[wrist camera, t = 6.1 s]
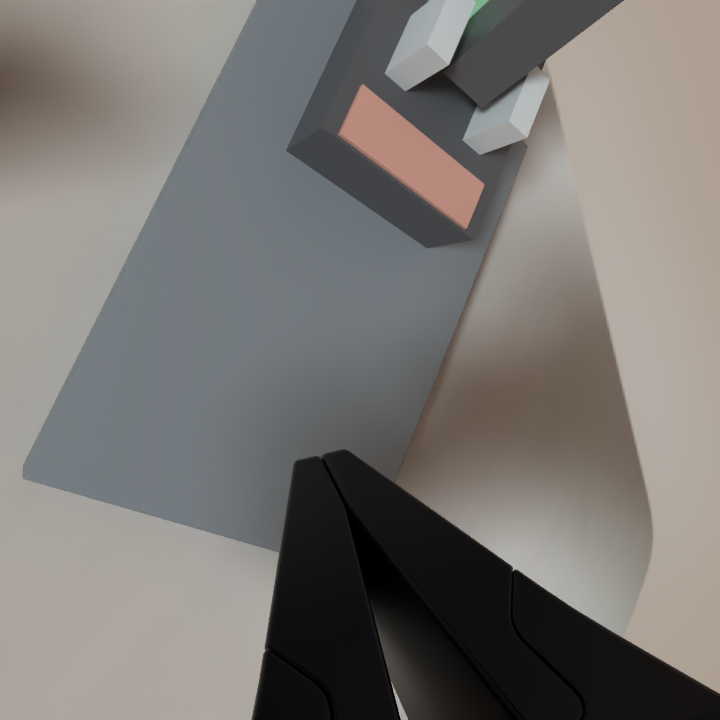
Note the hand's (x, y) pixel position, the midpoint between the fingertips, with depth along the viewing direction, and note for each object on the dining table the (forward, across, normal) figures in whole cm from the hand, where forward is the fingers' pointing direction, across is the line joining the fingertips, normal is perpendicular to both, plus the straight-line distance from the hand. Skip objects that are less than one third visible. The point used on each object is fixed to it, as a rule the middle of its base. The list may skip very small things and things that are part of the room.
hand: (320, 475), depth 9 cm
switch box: (+12, -3, +1) cm, 12 cm away
